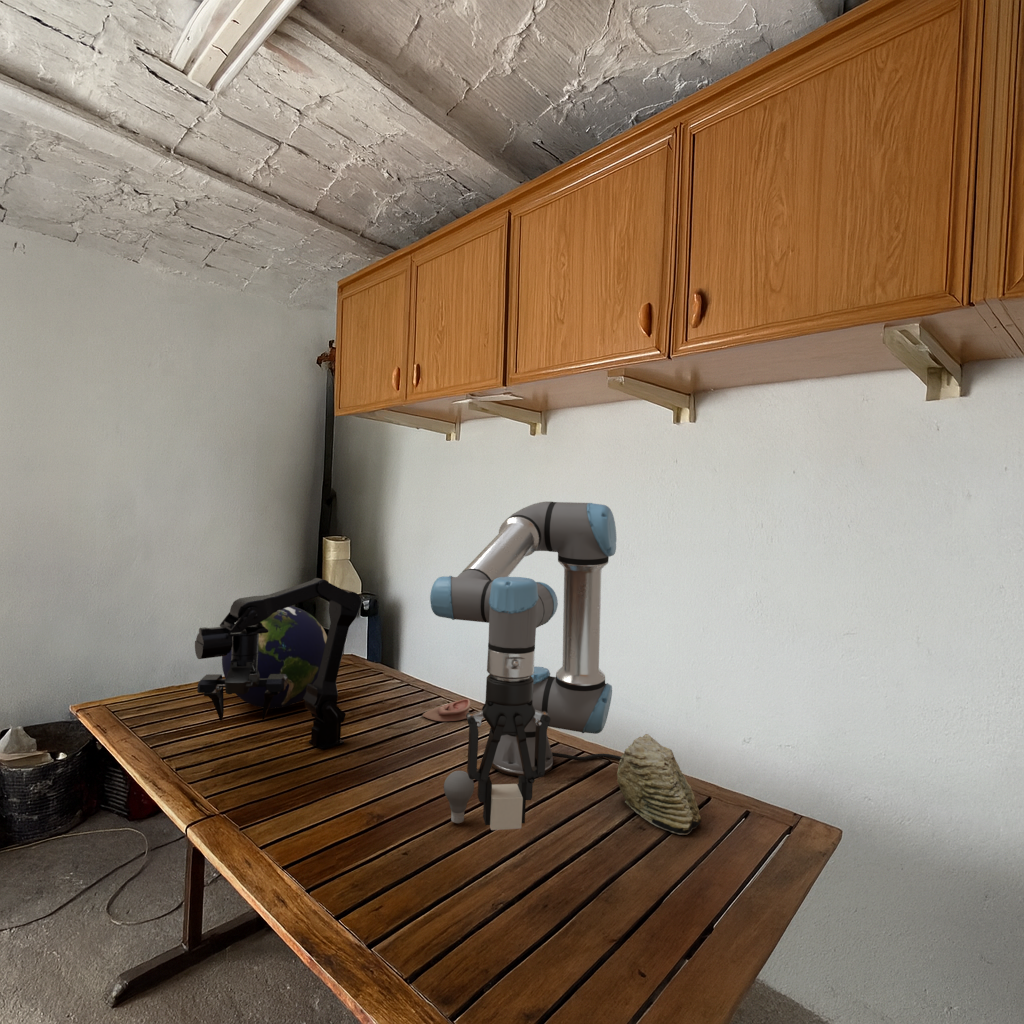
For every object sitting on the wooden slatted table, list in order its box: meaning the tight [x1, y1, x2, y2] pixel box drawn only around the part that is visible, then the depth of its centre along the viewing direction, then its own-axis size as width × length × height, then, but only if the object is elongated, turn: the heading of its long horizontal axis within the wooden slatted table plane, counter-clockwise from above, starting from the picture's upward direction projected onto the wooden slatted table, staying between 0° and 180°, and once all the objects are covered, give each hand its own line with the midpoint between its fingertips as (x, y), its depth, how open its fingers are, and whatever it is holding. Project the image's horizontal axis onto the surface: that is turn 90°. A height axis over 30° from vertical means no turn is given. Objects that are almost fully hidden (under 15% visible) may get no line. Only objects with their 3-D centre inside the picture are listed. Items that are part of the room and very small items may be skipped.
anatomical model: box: [422, 698, 471, 722], centre depth 187 cm, size 13×4×12 cm
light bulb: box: [443, 770, 475, 824], centre depth 125 cm, size 6×6×10 cm
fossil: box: [616, 733, 702, 836], centre depth 132 cm, size 9×18×15 cm, turn 46°
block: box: [489, 783, 523, 831], centre depth 101 cm, size 5×5×5 cm
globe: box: [221, 605, 328, 709], centre depth 188 cm, size 30×30×30 cm
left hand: (242, 719), depth 148 cm, fingers open, 9 cm apart
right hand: (503, 819), depth 101 cm, fingers closed on block, 5 cm apart
